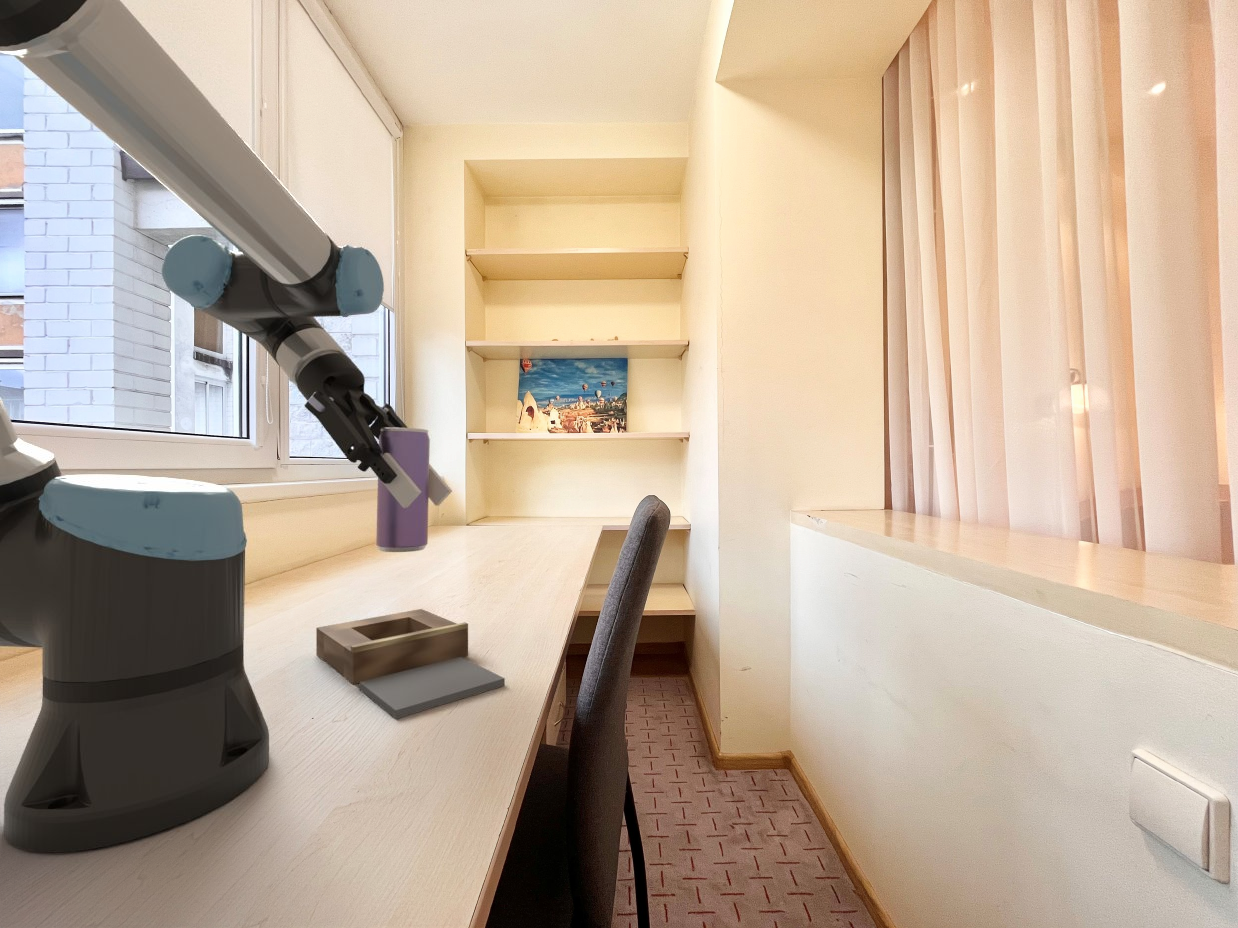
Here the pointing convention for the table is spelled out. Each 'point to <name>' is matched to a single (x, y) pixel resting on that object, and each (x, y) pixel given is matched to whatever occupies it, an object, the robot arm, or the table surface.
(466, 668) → the rubber mat
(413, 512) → the beverage can
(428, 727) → the table surface
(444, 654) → the can holder
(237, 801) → the table surface
